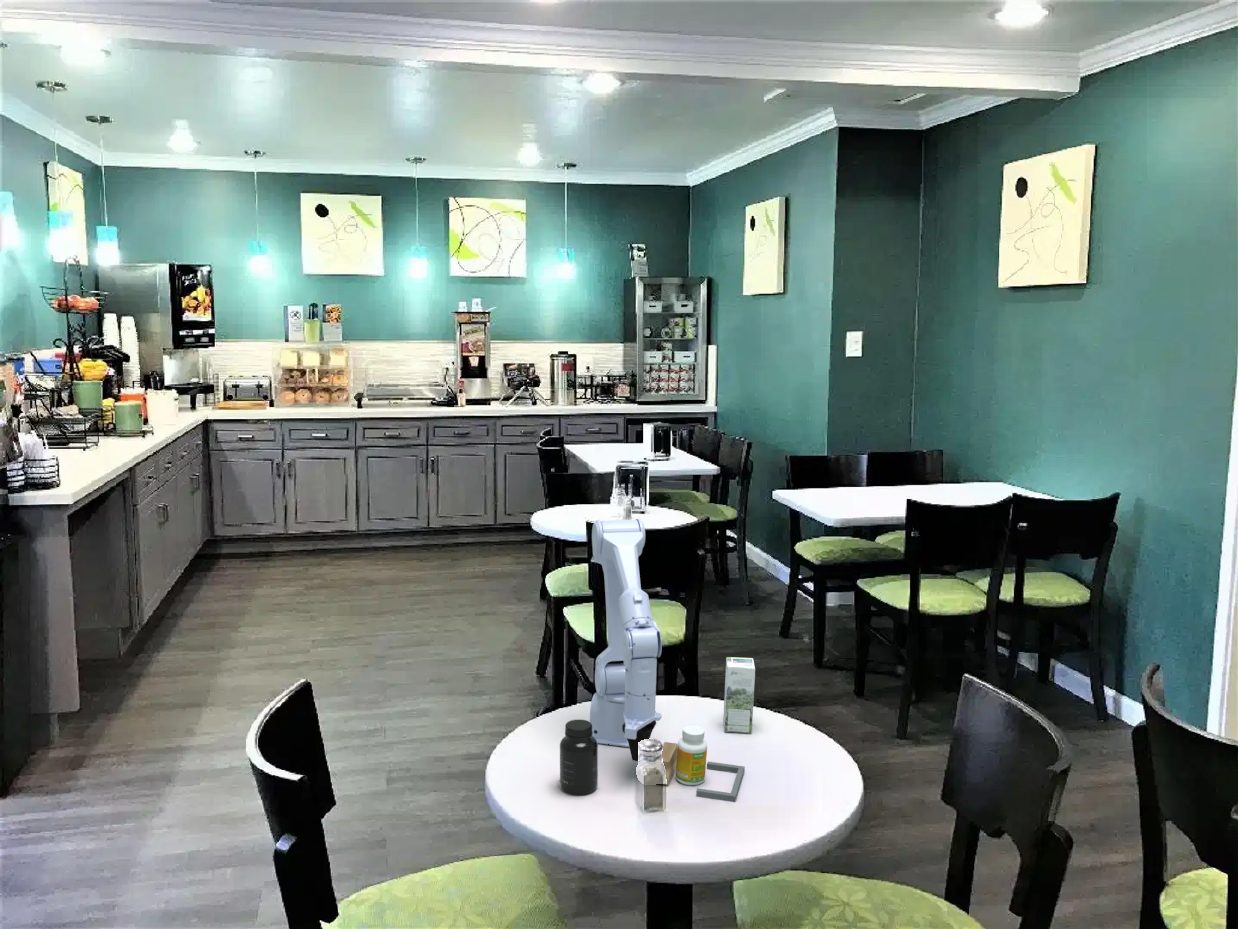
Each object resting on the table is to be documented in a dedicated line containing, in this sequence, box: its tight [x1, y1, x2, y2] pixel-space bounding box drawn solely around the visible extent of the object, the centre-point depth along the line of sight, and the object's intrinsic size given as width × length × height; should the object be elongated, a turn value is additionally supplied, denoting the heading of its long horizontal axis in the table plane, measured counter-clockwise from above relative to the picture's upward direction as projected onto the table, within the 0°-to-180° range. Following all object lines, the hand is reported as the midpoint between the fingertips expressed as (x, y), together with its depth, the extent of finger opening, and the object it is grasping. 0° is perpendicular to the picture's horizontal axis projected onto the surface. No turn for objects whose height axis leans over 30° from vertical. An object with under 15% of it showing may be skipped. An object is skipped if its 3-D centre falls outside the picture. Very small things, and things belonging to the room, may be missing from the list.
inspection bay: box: [695, 761, 746, 803], centre depth 184 cm, size 7×12×1 cm, turn 165°
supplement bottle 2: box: [675, 724, 708, 786], centre depth 184 cm, size 5×5×10 cm
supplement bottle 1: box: [559, 719, 599, 796], centre depth 180 cm, size 7×7×12 cm
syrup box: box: [722, 656, 756, 734], centre depth 207 cm, size 6×6×14 cm
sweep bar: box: [662, 741, 678, 786], centre depth 186 cm, size 2×8×4 cm, turn 166°
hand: (638, 759), depth 187 cm, fingers closed
